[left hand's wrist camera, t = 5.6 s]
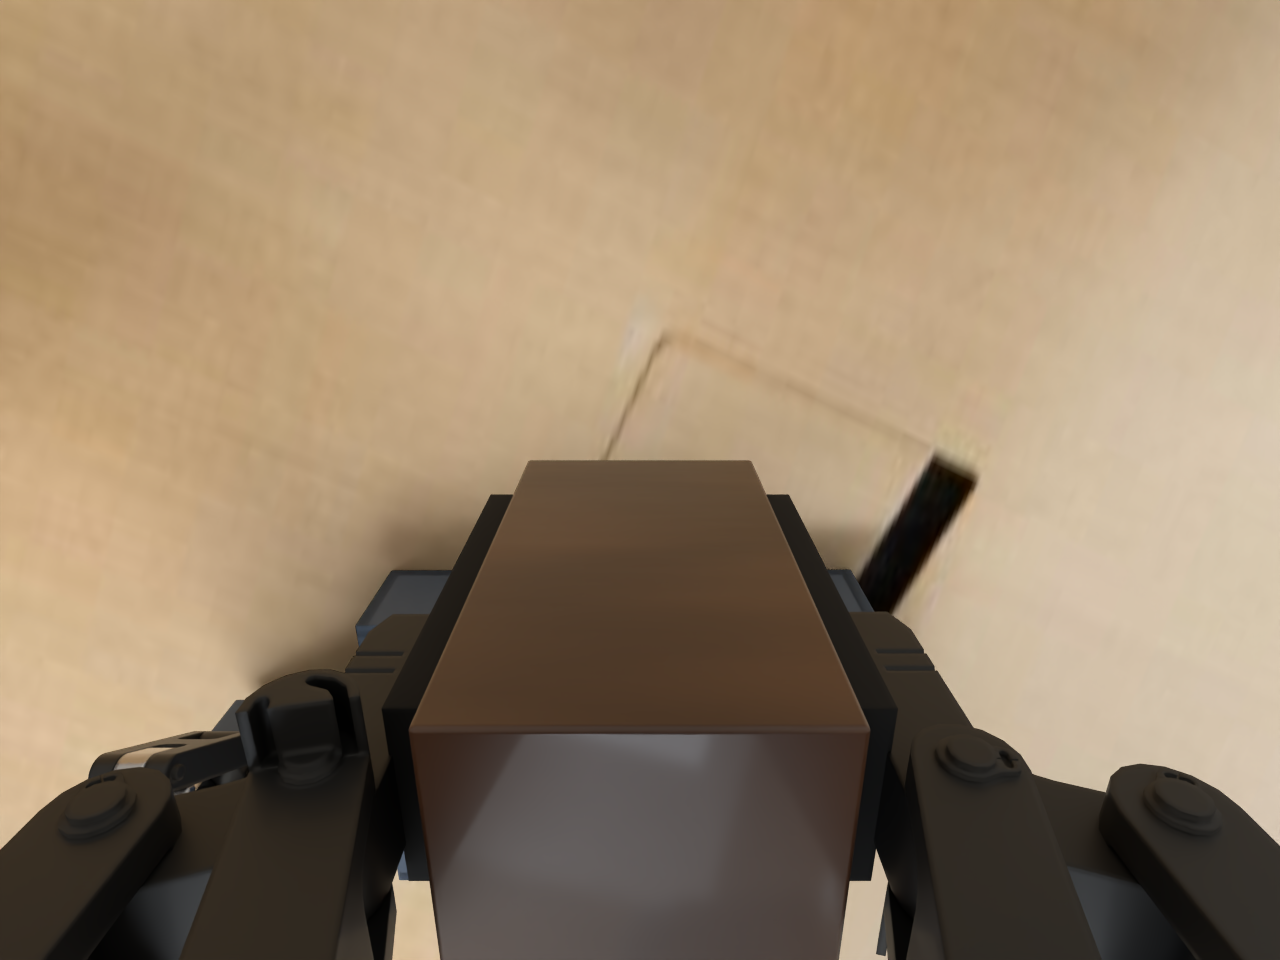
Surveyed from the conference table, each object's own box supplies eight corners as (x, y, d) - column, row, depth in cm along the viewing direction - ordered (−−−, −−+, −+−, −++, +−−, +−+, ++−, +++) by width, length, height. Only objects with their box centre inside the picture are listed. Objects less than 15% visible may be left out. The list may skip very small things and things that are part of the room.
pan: (850, 569, 33) (902, 660, 27) (822, 803, 38) (859, 927, 32) (217, 570, 33) (114, 662, 27) (275, 804, 38) (201, 929, 32)
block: (752, 459, 14) (872, 729, 7) (741, 650, 16) (830, 1038, 8) (527, 459, 14) (405, 729, 7) (538, 650, 16) (449, 1039, 8)
